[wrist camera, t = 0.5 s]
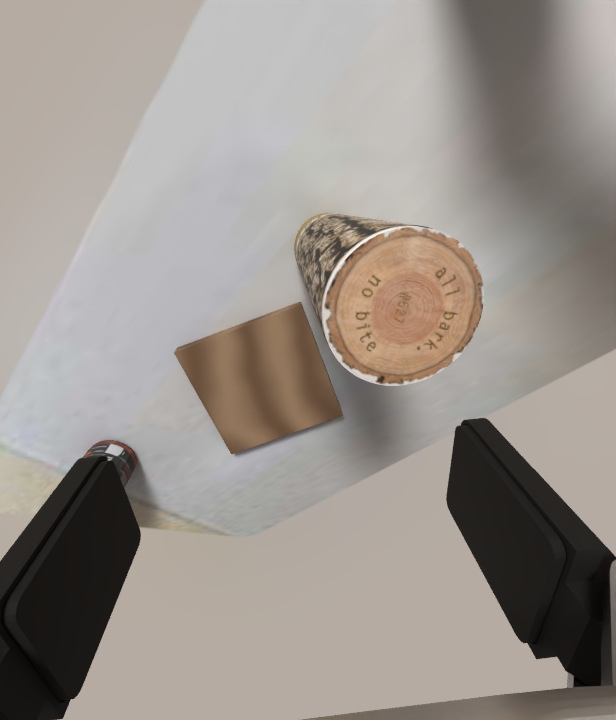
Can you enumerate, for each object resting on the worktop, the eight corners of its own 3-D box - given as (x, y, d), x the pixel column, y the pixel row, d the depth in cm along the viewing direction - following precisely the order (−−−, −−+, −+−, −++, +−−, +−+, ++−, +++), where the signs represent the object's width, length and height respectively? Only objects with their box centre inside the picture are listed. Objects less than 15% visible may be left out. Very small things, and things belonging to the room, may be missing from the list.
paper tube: (365, 220, 37) (510, 245, 14) (348, 285, 39) (450, 395, 17) (300, 206, 36) (344, 208, 13) (288, 273, 38) (307, 374, 15)
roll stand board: (300, 301, 40) (301, 305, 38) (340, 409, 46) (342, 415, 44) (177, 347, 41) (173, 352, 39) (232, 446, 47) (231, 454, 45)
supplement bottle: (112, 429, 44) (62, 498, 34) (147, 459, 46) (111, 532, 36) (78, 454, 45) (19, 528, 35) (114, 482, 47) (69, 560, 37)
